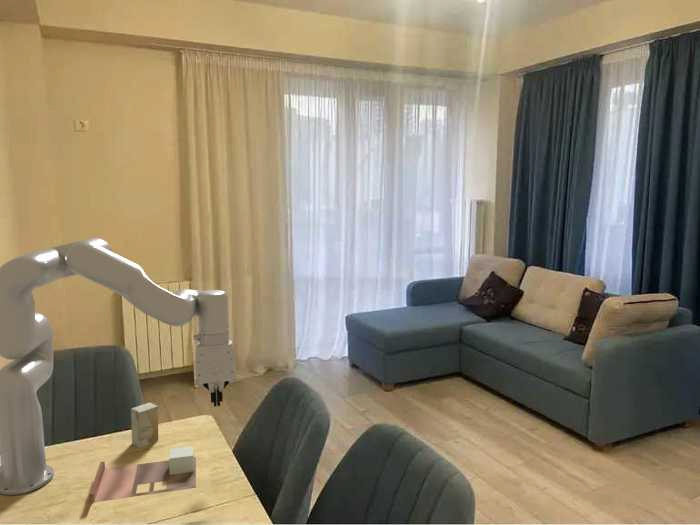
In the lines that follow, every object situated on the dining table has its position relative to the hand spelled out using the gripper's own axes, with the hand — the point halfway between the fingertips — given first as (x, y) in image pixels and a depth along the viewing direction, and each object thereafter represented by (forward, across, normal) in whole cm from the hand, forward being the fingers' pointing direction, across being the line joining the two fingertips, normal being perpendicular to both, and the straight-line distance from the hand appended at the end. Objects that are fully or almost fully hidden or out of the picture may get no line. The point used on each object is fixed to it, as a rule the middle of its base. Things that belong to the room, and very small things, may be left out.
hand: (216, 404), depth 137 cm
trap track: (+18, -18, -2) cm, 26 cm away
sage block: (+17, -10, 0) cm, 19 cm away
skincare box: (+18, -20, +18) cm, 32 cm away
